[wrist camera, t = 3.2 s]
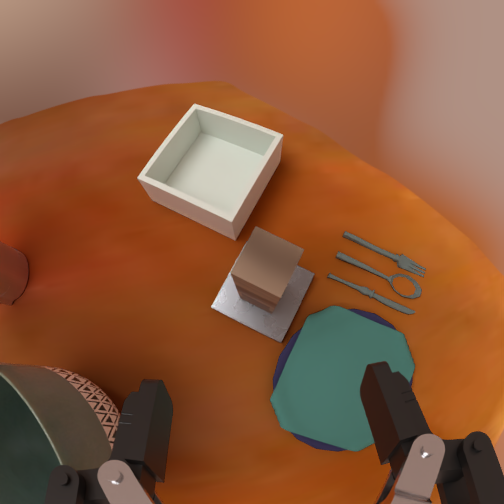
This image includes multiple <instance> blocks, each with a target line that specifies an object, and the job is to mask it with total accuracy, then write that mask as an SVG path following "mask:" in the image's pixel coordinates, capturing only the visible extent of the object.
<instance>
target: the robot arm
mask: <svg viewBox="0 0 504 504" xmlns="http://www.w3.org/2000/svg"><path fill="white" fill-rule="evenodd" d="M28 273H29V268H28V262H27V259H26V257H25V255H24V254H23V253H22V252H20V251H18V250H16V249H15V248H12V247H10V246H8V245H6V244H4V243H2V242H0V303H3V304H7V305H12V303H13V301H14V300H15V299H17V298H18V297H19V296H20V295H21V294H22V293H23V291H24V289H25V287H26V284H27V281H28ZM360 397H361V401H362V404H363V407H364V410H365V413H366V417H367V420H368V423H369V426H370V429H371V432H372V436H373V439H374V442H375V446H376V449H377V452H378V456H379V459H380V463H381V465H383V464H386V463H390V466H391V470H390V472H389V474H388V476H387V478H386V481H385V483H384V485H383V487H382V489H381V491H380V493H379V495H378V497H377V499H376V501H375V503H374V504H432V502H431V500H430V495H431V492H432V490H433V487H434V484H437V488H438V492H439V496H440V500H441V504H504V475H503V473H502V470H501V467H500V464H499V461H498V459H497V456H496V453H495V451H494V448H493V445H492V443H491V440H490V438H489V437H488V436H487V435H486V434H485V433H483V432H479V431H476V432H472V433H470V434H469V435H468V436H467V437H466V438H465V439H455V440H443V439H441V438H439V437H438V436H436V435H434V434H433V433H432V432H431V431H430V429H429V427H428V425H427V422H426V420H425V418H424V415H423V413H422V411H421V408H420V406H419V404H418V402H417V400H416V397H415V395H414V393H413V392H412V388H411V386H410V384H409V382H408V380H407V379H406V378H405V377H404V376H403V375H402V374H401V373H400V372H399V371H397V372H393V373H392V371H391V369H390V366H389V364H388V363H387V362H386V361H382V362H377V363H372V364H368V365H367V367H366V370H365V373H364V376H363V379H362V382H361V386H360ZM121 413H122V414H121V416H120V419H119V424H118V427H117V431H116V435H115V440H114V444H113V448H112V452H111V456H110V458H109V460H108V461H107V462H105V463H104V464H102V466H101V467H99V468H95V469H87V470H77V471H76V470H75V469H73V468H72V467H70V466H68V465H59V466H57V467H55V468H54V469H53V470H52V472H51V474H50V477H49V482H48V487H47V492H46V497H45V503H44V504H164V503H163V501H162V500H161V499H160V497H159V496H158V494H157V493H156V491H155V483H156V482H164V479H165V470H166V461H167V453H168V445H169V437H170V430H171V423H172V416H173V405H172V401H171V398H170V396H169V394H168V392H167V390H166V387H165V385H164V383H163V381H162V380H149V379H144V380H142V382H141V385H140V389H139V392H131V393H130V395H129V396H128V397H127V398H126V400H125V401H124V404H123V408H122V412H121Z"/></svg>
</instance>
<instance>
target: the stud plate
mask: <svg viewBox="0 0 504 504" xmlns="http://www.w3.org/2000/svg"><path fill="white" fill-rule="evenodd" d="M246 243H247V242H246ZM245 245H246V244H245ZM245 245H244V247H245ZM244 247H243V249H244ZM243 249H242V251H243ZM242 251H241V252H242ZM240 254H241V253H240ZM239 256H240V255H239ZM238 258H239V257H238ZM238 258H237V260H238ZM237 260H236V262H237ZM236 262H235V263H236ZM234 265H235V264H234ZM233 267H234V266H233ZM232 269H233V268H232ZM232 269H231V271H232ZM231 271H230V273H229V275H228V277H227V279H226V280H225V282H224V284H223V286H222V288H221V290H220V292H219V293H218V295H217V297H216V299H215V301H214V303H213V305H212V306H211V307H212V308H213V309H215V310H217V311H219V312H221V313H223V314H225V315H226V316H228V317H230V318H232V319H234V320H236V321H238V322H240V323H242V324H244V325H246V326H248V327H250V328H252V329H254V330H256V331H258V332H260V333H262V334H264V335H266V336H268V337H270V338H272V339H274V340H276V341H278V342H280V343H281V342H282V340H283V338H284V336H285V334H286V332H287V330H288V328H289V326H290V324H291V322H292V320H293V318H294V316H295V314H296V312H297V310H298V308H299V306H300V304H301V302H302V300H303V297H304V295H305V293H306V291H307V289H308V287H309V285H310V283H311V280H312V278H313V276H314V273H312V272H310V271H308V270H306V269H304V268H302V267H300V266H298V265H297V266H296V268H295V270H294V272H293V274H292V276H291V278H290V280H289V282H288V284H287V286H286V288H285V290H284V292H283V294H282V296H281V298H280V300H279V302H278V304H277V305H276V307H275V309H274V311H273V312H272V314H270V313H268V312H266V311H264V310H262V309H260V308H258V307H256V306H254V305H252V304H251V303H249V302H247V301H245V300H243V299H241V298H240V297H239V294H238V292H237V289H236V286H235V284H234V281H233V278H232V276H231Z"/></svg>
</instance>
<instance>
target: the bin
mask: <svg viewBox="0 0 504 504" xmlns="http://www.w3.org/2000/svg"><path fill="white" fill-rule="evenodd" d="M282 142H283V135H282V134H280V133H277V132H275V131H272V130H270V129H267V128H264V127H262V126H259V125H256V124H254V123H251V122H248V121H245V120H243V119H240V118H237V117H234V116H231V115H228V114H225V113H222V112H219V111H216V110H213V109H210V108H207V107H204V106H200V105H197V104H194V105H193V106H192V107H191V108H190V109H189V111H188V112H187V113H186V114H185V115H184V117H183V118H182V119H181V120H180V122H179V123H178V124H177V125H176V127H175V128H174V129H173V130H172V132H171V133H170V134H169V135H168V137H167V138H166V139H165V141H164V142H163V143H162V145H161V146H160V147H159V149H158V150H157V151H156V153H155V154H154V155H153V157H152V158H151V159H150V161H149V162H148V163H147V165H146V166H145V168H144V169H143V170H142V172H141V173H140V175H139V176H138V178H137V179H138V180H139V182H140V183H141V185H142V186H143V188H144V189H145V191H146V192H147V193H148V195H149V196H150V198H151V199H152V200H153V201H155V202H157V203H159V204H161V205H163V206H165V207H167V208H169V209H171V210H173V211H175V212H177V213H179V214H181V215H183V216H186V217H188V218H190V219H192V220H194V221H196V222H198V223H200V224H202V225H204V226H206V227H208V228H210V229H212V230H214V231H216V232H218V233H220V234H223V235H225V236H227V237H229V238H231V239H233V240H235V241H236V239H237V237H238V235H239V234H240V232H241V230H242V228H243V227H244V225H245V223H246V221H247V219H248V218H249V216H250V214H251V212H252V210H253V209H254V207H255V205H256V203H257V202H258V200H259V198H260V196H261V195H262V193H263V191H264V189H265V187H266V186H267V184H268V182H269V180H270V179H271V177H272V175H273V173H274V172H275V170H276V168H277V166H278V165H279V163H280V159H281V150H282Z"/></svg>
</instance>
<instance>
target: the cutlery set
mask: <svg viewBox="0 0 504 504" xmlns="http://www.w3.org/2000/svg"><path fill="white" fill-rule="evenodd" d="M343 237H345V238H347V239H349V240H351V241H354V242H356V243H358V244H360V245H362V246H364V247H366V248H368V249H370V250H373V251H375V252H377V253H379V254H381V255H384V256H386V257H388V258H391V259H393V261H395V262H397V266H398V267H399V268H402V269H405V270H407V271H409V272H412V273H414V274H417V275H419V276H422V277H424V275H422V274H420V273H418V272H416V271H415V270H417V271H419V272H421V273H424V274H425V272H424V271H422V270H420V269H418V268H417V267H419V268H421V269H424V270H426V268H424V267H422V266H420V265H418V264H417V263H415V262H414V261H412V260H410V259H409V258H407V257H406V256H404V255H403V254H402V255H401V256H399V255H398V254H396V255H394V254H392V253H390V252H388V251H385V250H383V249H380V248H378V247H376V246H374V245H372V244H370V243H368V242H366V241H364V240H363V239H361V238H359V237H357V236H355V235H352V234H350V233H348V232H346V231H345V232H344V235H343ZM336 258H338V259H340V260H343V261H345V262H348V263H350V264H353V265H355V266H357V267H360V268H362V269H365V270H367V271H369V272H371V273H373V274H376V275H378V276H380V277H382V278H384V279H386V280H388V281H389V282H390V284H391V285H392V282H393V278H396V277H398V276H401V277H406V278H407V279H409V280H410V281H411V282H413V284H414V286H415V288H416V290H415V293H414V294H413V295H410V296H405V295H401V294H400V293H398V292H397V291H396V290H395V289H394V287H393V285H392V287H393V289H394V291H396V292H397V293H398V294H400V295H401V296H403V297H407V298H412V299H413V298H416V297H419V296H420V294H421V291H422V290H421V288H420V286H419V284H418V283H417V282H416V281H415V280H414V279H412V278H411V277H410V276H408V275H404V274H396V275H392V276H390V277H387V276H386V275H384V274H382V273H380V272H378V271H376V270H374V269H373V268H371V267H369V266H367V265H365V264H363V263H361V262H359V261H357V260H355V259H353V258H351V257H349V256H347V255H345V254H343V253H340V252H339V251H338V253H337V255H336ZM413 265H414V266H413ZM415 266H416V267H415ZM413 269H414V270H413ZM327 278H332V279H334V280H337V281H339V282H342V283H344V284H346V285H348V286H350V287H352V288H354V289H357V290H358V291H359V292H361V293H362V294H363V295H368V296H369V297H370V298H372V297H373V298H375V299H376V300H378V301H380V302H381V303H383V304H385V305H387V306H389V307H391V308H393V309H396V310H398V311H400V312H403V313H405V314H413V313H415V311H413V310H411V309H409V308H407V307H404V306H402V305H400V304H398V303H395V302H393V301H391V300H389V299H386V298H384V297H382V296H380V295H377V294H375V293H374V291H375V290H373V291H371V290H369V289H368V288H367V287H361V286H357V285H355V284H353V283H350V282H347V281H344V280H342V279H340V278H338V277H336V276H334V275H332V274H331V273H329V275H328V277H327ZM382 361H386V362H387V363H388V364H389V366H390V369H391V371H392V373H393V372H397V371H399V372H400V373H401V374H402V375H403V376H404V377H405V378H406V379H407V380H408V382H409V384H410V386H411V385H412V375H413V372H414V369H415V364H414V362H413V358H412V356H411V352H410V351H409V346H408V345H407V341H406V339H405V336H404V334H403V333H401V332H399V331H397V330H396V329H395V328H394V326H393V325H392V324H390V323H389V322H387V321H386V320H384V319H383V318H381V317H379V316H378V315H376V314H374V313H370V312H366V311H361V310H357V309H348V310H347V309H345V308H342V307H339V306H329V307H328V308H326V309H324V310H322V311H320V312H317V313H314V314H311V315H309V316H308V317H307V319H306V321H305V323H304V325H303V327H302V328H301V329H300V330H299V331H298V332H296V333H295V334H294V335H293V336H292V338H291V339H290V341H289V342H288V344H287V345H286V347H285V348H284V350H283V351H282V353H281V354H280V356H279V359H278V363H277V367H276V370H275V374H274V377H273V391H274V392H273V394H272V396H271V399H270V402H271V403H272V407H273V409H274V411H275V414H276V416H277V419H278V421H279V423H280V427H282V428H283V429H285V430H287V431H290V432H291V433H292V434H293V435H294V436H295V437H296V438H297V439H298V440H300V441H302V442H304V443H306V444H308V445H310V446H312V447H314V448H316V449H322V450H330V451H343V450H351V451H360V450H362V449H364V448H366V447H368V446H370V445H371V444H373V443H375V442H374V439H373V436H372V432H371V429H370V426H369V423H368V420H367V417H366V413H365V410H364V407H363V404H362V401H361V397H360V386H361V382H362V379H363V376H364V373H365V370H366V367H367V365H368V364H372V363H377V362H382Z"/></svg>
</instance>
